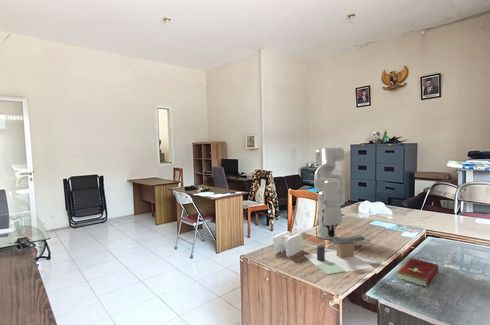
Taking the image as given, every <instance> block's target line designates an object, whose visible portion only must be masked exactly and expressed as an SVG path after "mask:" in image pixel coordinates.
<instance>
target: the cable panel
mask: <svg viewBox="0 0 490 325" xmlns="http://www.w3.org/2000/svg"><path fill="white" fill-rule="evenodd" d="M354 246H355V243H354V242H349V243H341V244H336V250H332V251H325V260H324V261H318V260H317V253H311V254H304V255H303V256H304V257H305V258H306V259H308V260H309V261H310V262H311V263H312V264H314V266H315V267H317V268H319V269H320V270H321V271H322V272H323V273H325V275H328V276H330V275H334V274H335V275H336V274H341V273H346V272H353V271H360V270H364V269H371V268H373V265H371V264H369V263H368V262H366V261H364V260H362V259H360V258H359V257H357V256H356V255H354V254H355V248H354Z"/></svg>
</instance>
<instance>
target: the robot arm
mask: <svg viewBox="0 0 490 325" xmlns="http://www.w3.org/2000/svg"><path fill="white" fill-rule="evenodd" d="M314 156H315V159H316V160H315V161H316V163H317V165H318V168H316V170H315V172H314V176H313V185H314V189H315V190H316V191H318V193H317V202H318V216H319V217H318V220H319V222H318V224H319V226H318V228H317V230H318V232H317V233H316V237H317V238H319V239H323V240H332V239H335V238H337V234H336V233H335V230H336V229H337V226H340V225H341V224H342V221H343V215H342V208H341V206H344V205H345V202H346V194H345V193H346V191H345V188H346V187H345V178H344V176H343V175H340V174H333V172H334V171H335V170H336V168H337V164H336V162H343V161H344V160H345V157H346V154H345V149H343V148H342V147H324V148H322V149H320V148H319V149H317V150H316V151H315V154H314Z"/></svg>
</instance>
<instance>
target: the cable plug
mask: <svg viewBox="0 0 490 325" xmlns="http://www.w3.org/2000/svg"><path fill="white" fill-rule="evenodd" d="M325 247H326V246H324V245H317V246H316V254H317V260H318V261H324V260H325V252H326V251H325V250H326V249H325Z"/></svg>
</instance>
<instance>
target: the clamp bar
mask: <svg viewBox="0 0 490 325" xmlns="http://www.w3.org/2000/svg"><path fill="white" fill-rule="evenodd" d="M331 240H332V241H331V242H332V243H333V244H335V245H337V244H341V243H349V242H353V243H354V242H363V241H365V236H363V235H352V236H351V235H350V236H346V237H343V236H342V237H336V238H335V239H331Z"/></svg>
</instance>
